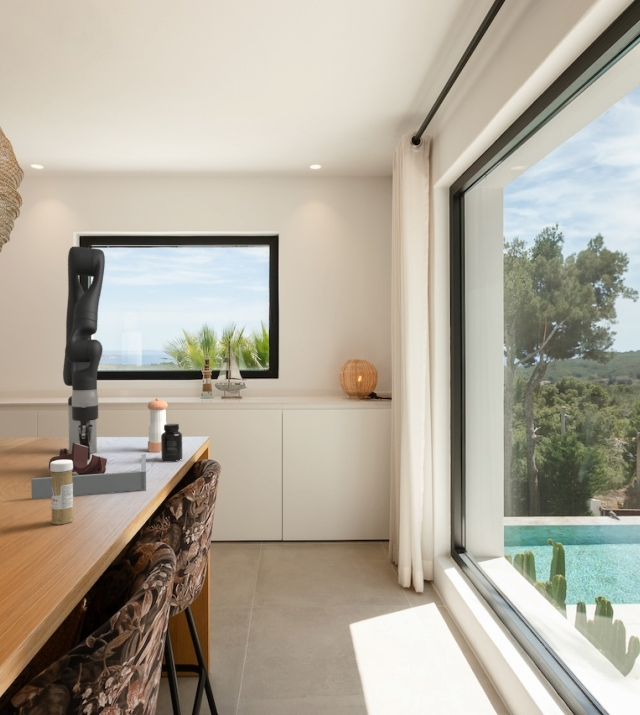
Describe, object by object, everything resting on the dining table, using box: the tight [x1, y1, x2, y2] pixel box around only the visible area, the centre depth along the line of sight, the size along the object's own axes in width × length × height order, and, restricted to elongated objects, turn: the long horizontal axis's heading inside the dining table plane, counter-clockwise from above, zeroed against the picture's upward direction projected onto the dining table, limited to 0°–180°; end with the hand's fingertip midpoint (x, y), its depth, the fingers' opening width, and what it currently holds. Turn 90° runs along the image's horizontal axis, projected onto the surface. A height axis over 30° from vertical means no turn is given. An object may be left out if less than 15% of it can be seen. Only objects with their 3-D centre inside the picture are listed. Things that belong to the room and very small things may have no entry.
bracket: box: [48, 443, 108, 475], centre depth 169 cm, size 6×17×10 cm, turn 77°
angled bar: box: [30, 453, 147, 500], centre depth 160 cm, size 25×28×5 cm
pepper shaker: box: [147, 397, 169, 453], centre depth 208 cm, size 7×7×19 cm
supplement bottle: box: [160, 423, 183, 462], centre depth 191 cm, size 7×7×12 cm
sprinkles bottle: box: [49, 460, 74, 525], centre depth 125 cm, size 5×5×14 cm
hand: (86, 459), depth 177 cm, fingers closed
